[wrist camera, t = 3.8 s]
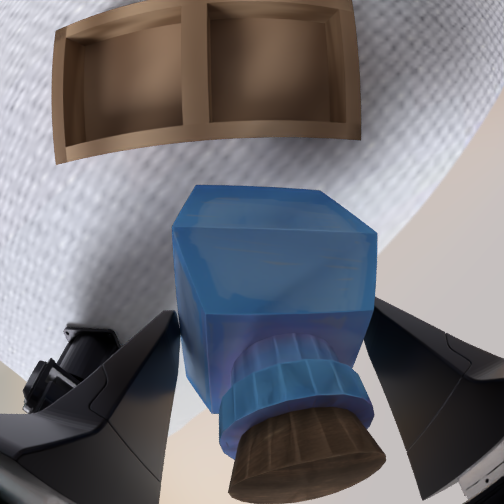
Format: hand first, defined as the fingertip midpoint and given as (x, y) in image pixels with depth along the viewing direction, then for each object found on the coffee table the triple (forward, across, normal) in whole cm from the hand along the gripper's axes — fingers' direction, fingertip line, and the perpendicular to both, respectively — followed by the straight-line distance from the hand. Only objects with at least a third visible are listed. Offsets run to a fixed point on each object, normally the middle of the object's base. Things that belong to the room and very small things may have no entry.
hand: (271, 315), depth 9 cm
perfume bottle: (+6, 0, 0) cm, 6 cm away
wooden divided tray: (+13, +3, -10) cm, 17 cm away
